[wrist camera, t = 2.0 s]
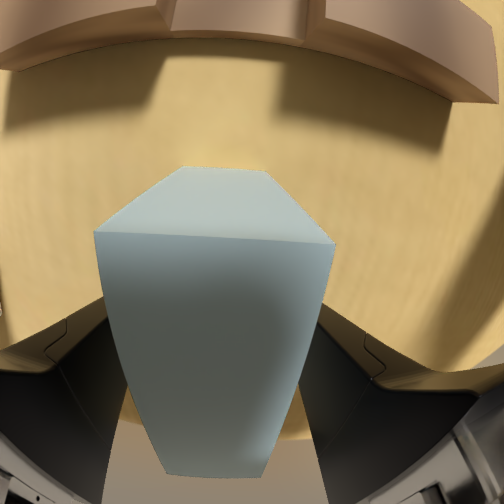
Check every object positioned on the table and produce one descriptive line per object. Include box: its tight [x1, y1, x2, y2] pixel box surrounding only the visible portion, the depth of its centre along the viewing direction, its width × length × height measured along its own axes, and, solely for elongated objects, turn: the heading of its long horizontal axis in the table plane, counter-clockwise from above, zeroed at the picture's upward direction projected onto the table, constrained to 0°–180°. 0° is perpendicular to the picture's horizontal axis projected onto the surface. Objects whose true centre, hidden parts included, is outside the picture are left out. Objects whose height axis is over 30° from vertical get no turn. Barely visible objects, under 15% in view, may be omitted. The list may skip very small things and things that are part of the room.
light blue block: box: [94, 166, 336, 478], centre depth 8 cm, size 3×8×7 cm, turn 175°
